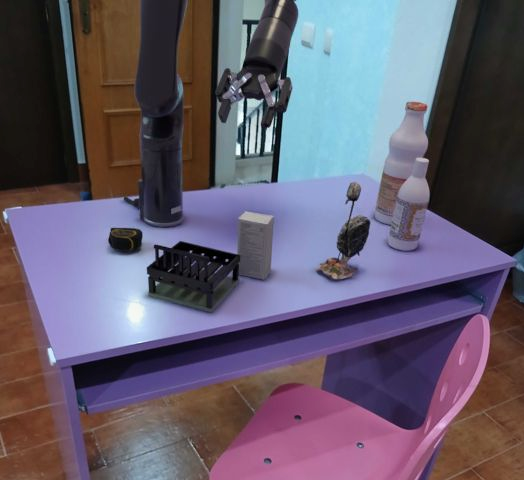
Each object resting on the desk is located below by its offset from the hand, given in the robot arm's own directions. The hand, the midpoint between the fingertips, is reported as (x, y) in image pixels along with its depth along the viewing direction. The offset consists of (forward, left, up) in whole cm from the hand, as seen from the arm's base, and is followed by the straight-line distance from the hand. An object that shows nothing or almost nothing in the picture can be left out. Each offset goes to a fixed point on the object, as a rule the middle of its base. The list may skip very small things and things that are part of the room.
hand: (242, 124), depth 106 cm
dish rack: (-1, -19, -27) cm, 33 cm away
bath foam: (+33, +22, -27) cm, 48 cm away
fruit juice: (+28, +37, -27) cm, 54 cm away
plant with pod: (+23, +2, -27) cm, 35 cm away
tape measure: (-22, -10, -27) cm, 36 cm away
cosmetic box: (+7, -8, -27) cm, 29 cm away
